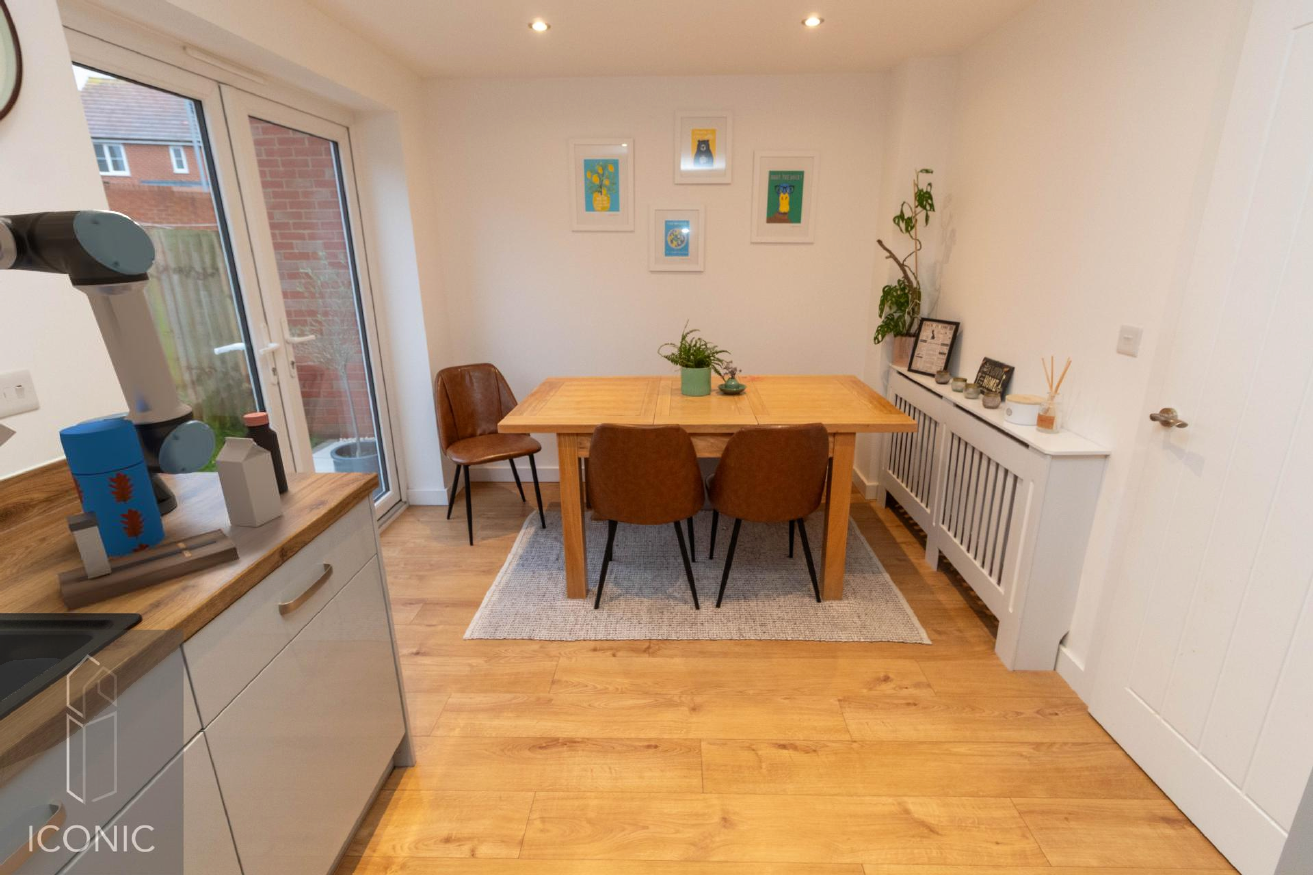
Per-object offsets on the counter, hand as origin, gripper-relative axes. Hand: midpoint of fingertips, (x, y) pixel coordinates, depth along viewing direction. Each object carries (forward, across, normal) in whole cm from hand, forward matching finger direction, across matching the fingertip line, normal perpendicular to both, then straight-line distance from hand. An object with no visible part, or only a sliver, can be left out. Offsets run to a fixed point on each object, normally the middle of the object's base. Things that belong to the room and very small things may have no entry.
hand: (0, 434), depth 92 cm
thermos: (+31, -18, -7) cm, 37 cm away
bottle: (+49, -24, +16) cm, 57 cm away
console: (+31, 0, -9) cm, 32 cm away
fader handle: (+24, -1, -12) cm, 27 cm away
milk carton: (+44, -9, +8) cm, 46 cm away
